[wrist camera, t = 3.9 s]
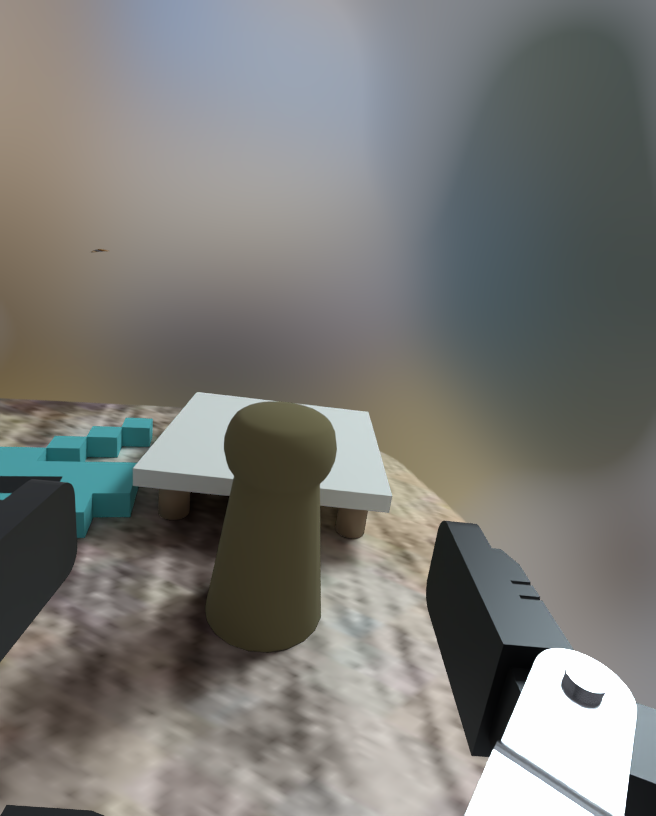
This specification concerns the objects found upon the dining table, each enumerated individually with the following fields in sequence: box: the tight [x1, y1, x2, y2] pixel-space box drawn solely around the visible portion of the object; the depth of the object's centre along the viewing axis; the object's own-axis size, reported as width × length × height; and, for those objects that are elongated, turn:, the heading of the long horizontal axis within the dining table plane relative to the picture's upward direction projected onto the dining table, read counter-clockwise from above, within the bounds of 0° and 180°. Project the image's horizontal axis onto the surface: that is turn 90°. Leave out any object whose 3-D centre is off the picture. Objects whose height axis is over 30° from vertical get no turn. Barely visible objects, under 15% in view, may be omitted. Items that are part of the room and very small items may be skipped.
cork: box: [205, 401, 337, 652], centre depth 23 cm, size 6×6×11 cm
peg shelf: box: [133, 392, 392, 538], centre depth 38 cm, size 16×16×4 cm
